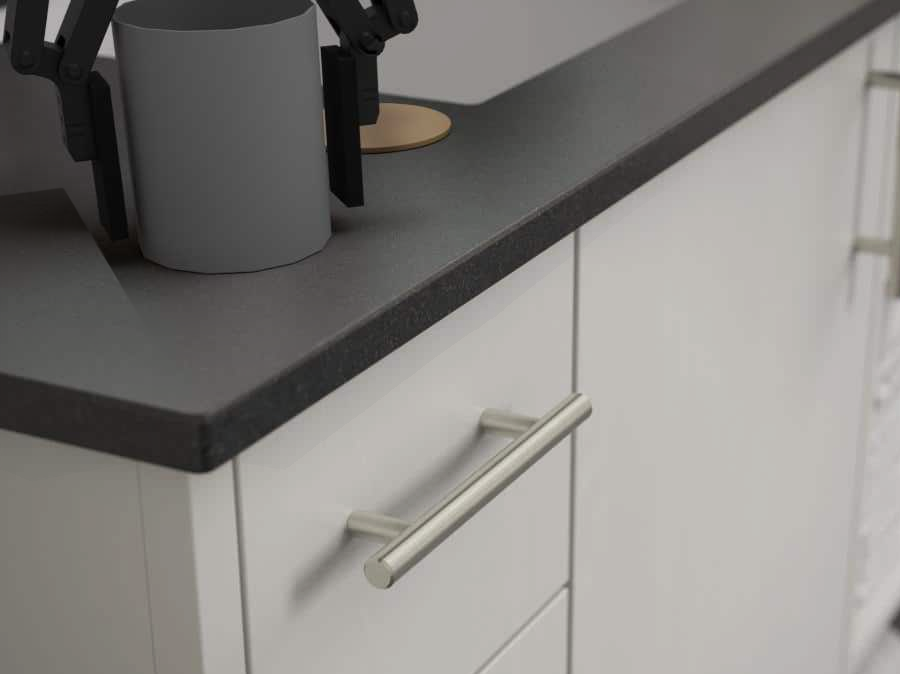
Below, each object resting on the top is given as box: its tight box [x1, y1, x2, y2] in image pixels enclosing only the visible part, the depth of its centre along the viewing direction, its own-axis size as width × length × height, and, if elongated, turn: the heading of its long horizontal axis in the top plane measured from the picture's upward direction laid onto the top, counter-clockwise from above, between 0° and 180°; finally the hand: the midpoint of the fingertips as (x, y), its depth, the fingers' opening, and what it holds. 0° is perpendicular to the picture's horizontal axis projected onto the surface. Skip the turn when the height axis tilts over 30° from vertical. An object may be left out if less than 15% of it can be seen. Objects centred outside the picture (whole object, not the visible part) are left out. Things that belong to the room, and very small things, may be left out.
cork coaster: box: [323, 102, 452, 154], centre depth 87 cm, size 9×9×1 cm
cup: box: [110, 0, 332, 274], centre depth 70 cm, size 8×8×10 cm
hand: (233, 214), depth 72 cm, fingers open, 10 cm apart
